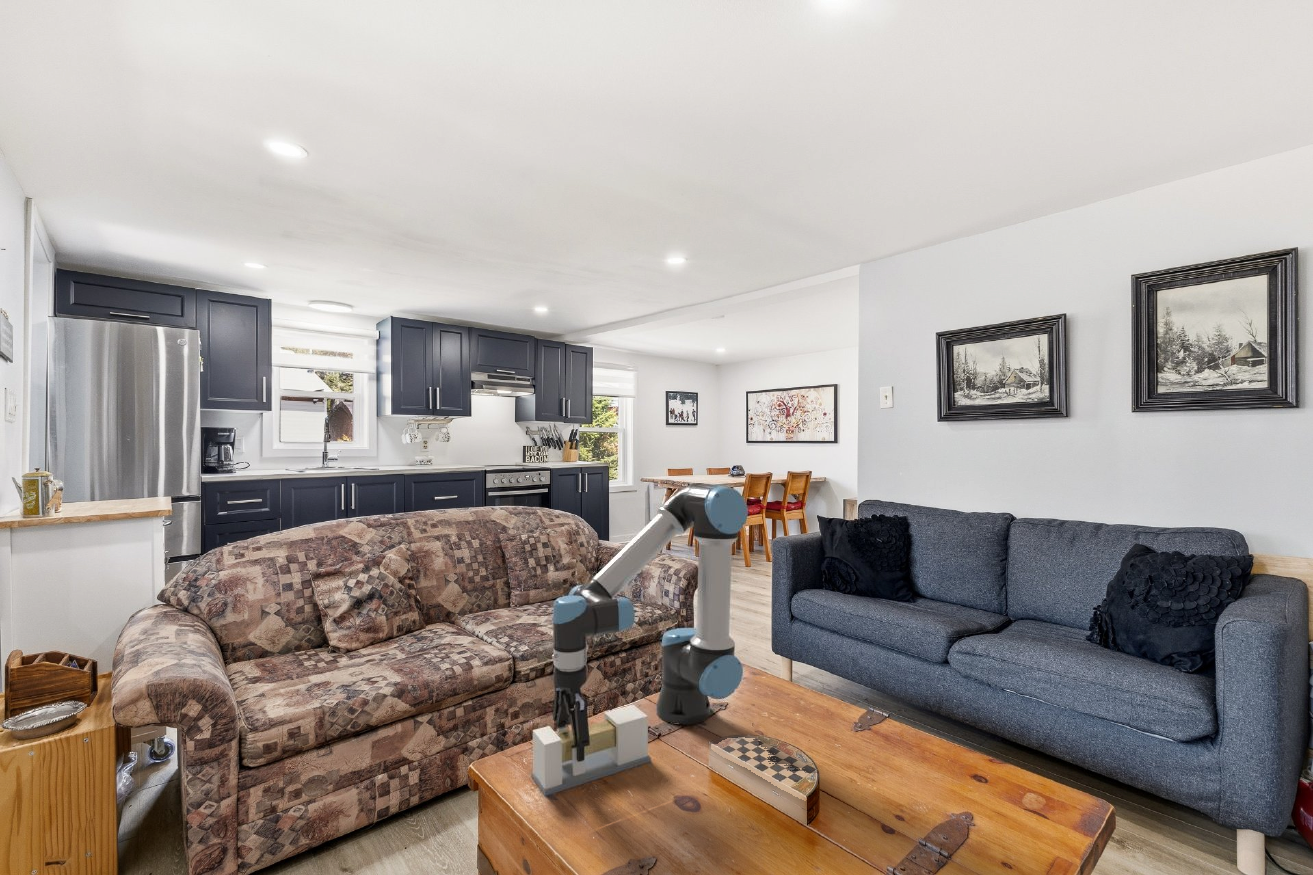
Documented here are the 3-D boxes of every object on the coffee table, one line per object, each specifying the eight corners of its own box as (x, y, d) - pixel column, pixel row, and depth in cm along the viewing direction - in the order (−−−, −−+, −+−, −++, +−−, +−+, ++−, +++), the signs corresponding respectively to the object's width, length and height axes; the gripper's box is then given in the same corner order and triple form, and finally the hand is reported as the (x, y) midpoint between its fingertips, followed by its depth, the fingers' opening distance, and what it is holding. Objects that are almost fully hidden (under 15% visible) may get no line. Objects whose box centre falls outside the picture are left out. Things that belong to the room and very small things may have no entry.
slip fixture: (632, 744, 154) (632, 702, 154) (650, 761, 146) (650, 716, 146) (531, 775, 140) (530, 729, 140) (545, 795, 132) (544, 746, 132)
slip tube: (611, 737, 148) (611, 718, 148) (620, 745, 144) (619, 726, 144) (540, 758, 139) (540, 738, 139) (547, 767, 135) (547, 747, 135)
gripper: (538, 654, 147) (539, 747, 148) (572, 685, 129) (574, 792, 129) (567, 648, 151) (568, 739, 151) (605, 677, 133) (606, 781, 133)
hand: (570, 763), depth 140 cm, fingers open, 8 cm apart
